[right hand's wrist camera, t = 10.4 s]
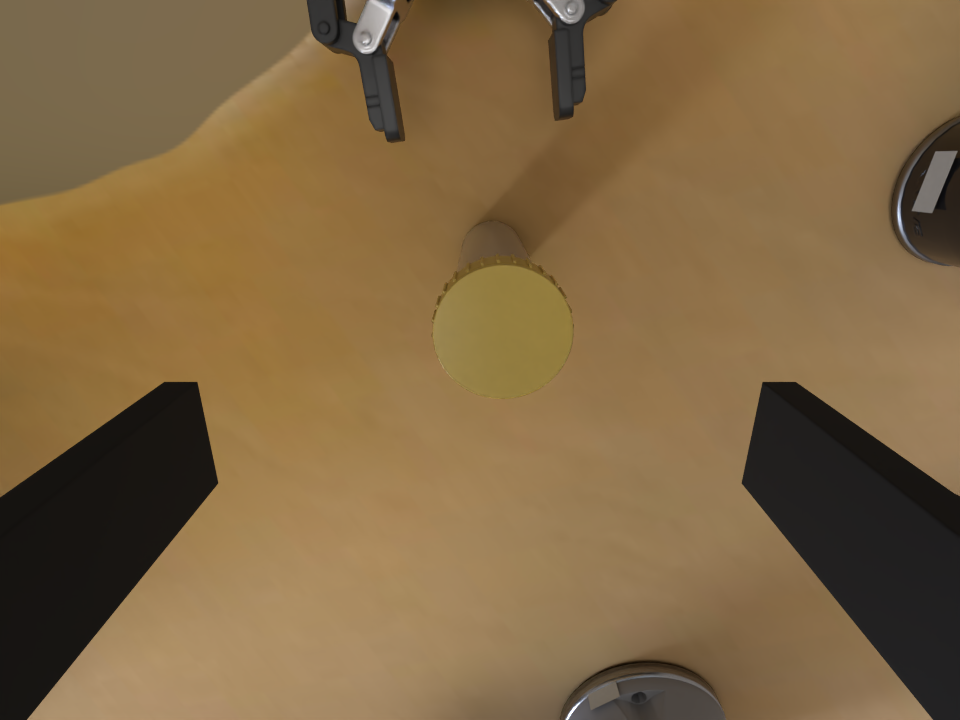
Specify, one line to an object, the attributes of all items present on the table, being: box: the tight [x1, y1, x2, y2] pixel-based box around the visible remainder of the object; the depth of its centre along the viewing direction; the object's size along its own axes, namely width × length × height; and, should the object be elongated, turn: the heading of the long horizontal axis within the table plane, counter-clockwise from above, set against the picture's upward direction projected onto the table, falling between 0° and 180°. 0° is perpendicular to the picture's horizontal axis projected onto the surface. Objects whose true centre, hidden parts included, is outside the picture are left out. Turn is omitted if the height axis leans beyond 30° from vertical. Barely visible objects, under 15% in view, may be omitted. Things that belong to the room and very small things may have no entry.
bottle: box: [457, 221, 532, 273], centre depth 27 cm, size 4×4×18 cm
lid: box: [432, 254, 574, 399], centre depth 19 cm, size 5×5×2 cm
